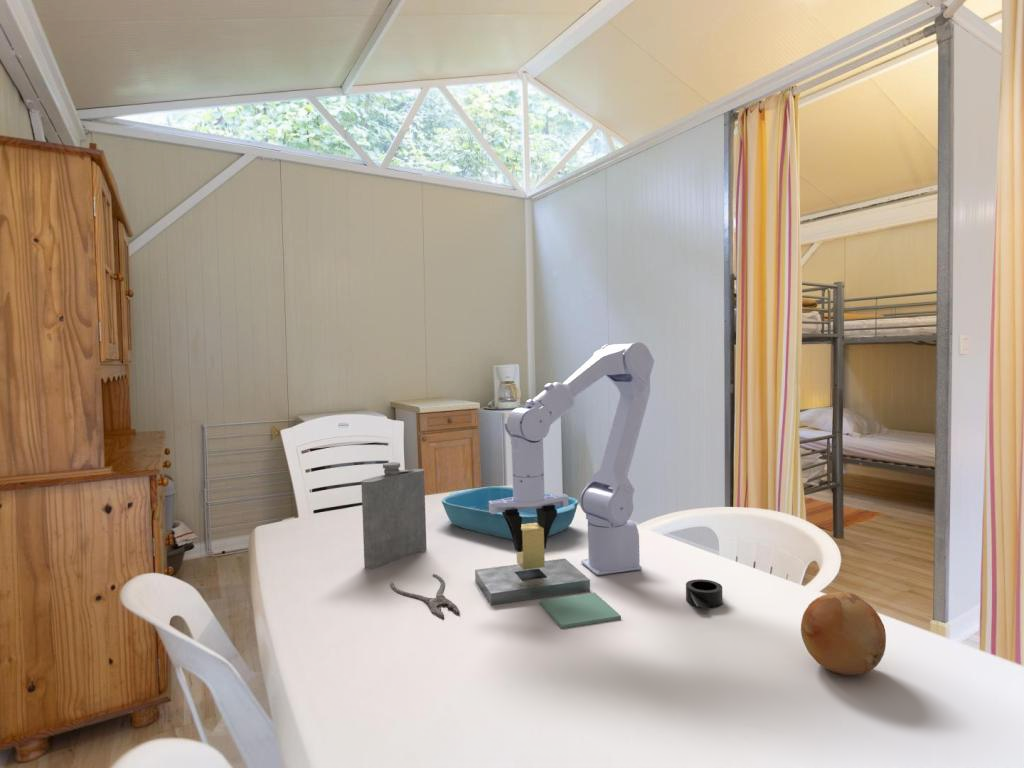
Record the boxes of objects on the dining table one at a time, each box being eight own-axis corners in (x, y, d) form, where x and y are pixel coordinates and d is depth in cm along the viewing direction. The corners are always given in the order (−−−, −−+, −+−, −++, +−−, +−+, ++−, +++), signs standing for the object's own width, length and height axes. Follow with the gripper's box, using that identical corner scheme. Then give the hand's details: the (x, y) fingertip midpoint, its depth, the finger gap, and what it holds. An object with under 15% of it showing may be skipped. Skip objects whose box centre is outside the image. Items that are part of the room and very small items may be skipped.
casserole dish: (425, 524, 152) (424, 496, 152) (487, 506, 169) (486, 481, 168) (537, 553, 127) (537, 520, 127) (597, 529, 144) (596, 499, 144)
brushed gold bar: (537, 559, 111) (536, 522, 111) (544, 567, 107) (543, 528, 107) (516, 562, 110) (515, 524, 110) (523, 569, 106) (522, 530, 106)
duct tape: (666, 603, 100) (665, 586, 100) (703, 588, 106) (702, 572, 106) (705, 618, 94) (705, 600, 94) (742, 602, 100) (742, 585, 100)
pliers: (430, 570, 117) (492, 600, 101) (430, 574, 117) (492, 605, 101) (384, 583, 111) (443, 617, 95) (384, 587, 111) (444, 622, 95)
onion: (825, 644, 84) (825, 574, 84) (902, 674, 76) (902, 597, 75) (784, 664, 79) (784, 590, 79) (862, 699, 71) (862, 616, 70)
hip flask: (371, 570, 119) (367, 470, 118) (358, 566, 122) (354, 468, 121) (429, 548, 132) (426, 458, 131) (417, 545, 134) (414, 456, 133)
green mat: (594, 595, 104) (594, 592, 104) (621, 618, 94) (620, 615, 94) (539, 603, 101) (539, 600, 101) (561, 628, 91) (561, 625, 91)
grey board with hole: (565, 568, 117) (565, 558, 117) (590, 590, 105) (589, 579, 105) (475, 580, 112) (474, 569, 112) (491, 605, 100) (490, 593, 100)
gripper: (558, 467, 114) (559, 538, 114) (483, 473, 110) (486, 546, 110) (572, 474, 107) (573, 549, 108) (493, 480, 103) (495, 558, 104)
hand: (530, 548), depth 108 cm, fingers closed on brushed gold bar, 4 cm apart
